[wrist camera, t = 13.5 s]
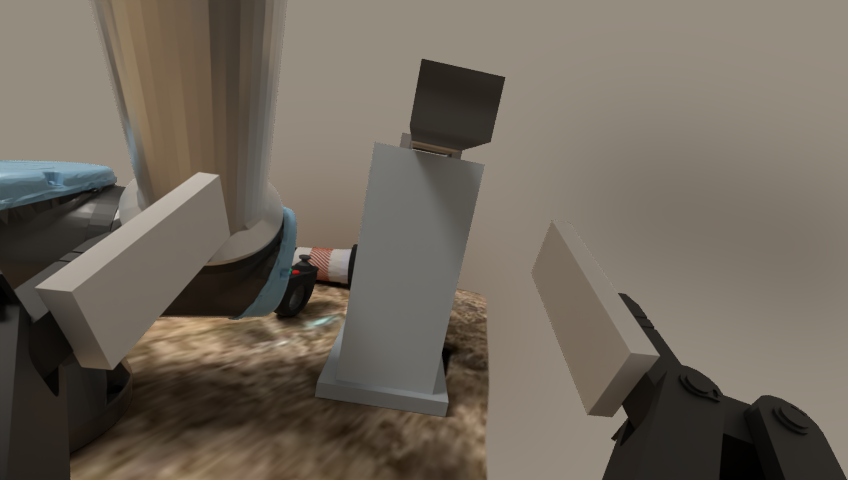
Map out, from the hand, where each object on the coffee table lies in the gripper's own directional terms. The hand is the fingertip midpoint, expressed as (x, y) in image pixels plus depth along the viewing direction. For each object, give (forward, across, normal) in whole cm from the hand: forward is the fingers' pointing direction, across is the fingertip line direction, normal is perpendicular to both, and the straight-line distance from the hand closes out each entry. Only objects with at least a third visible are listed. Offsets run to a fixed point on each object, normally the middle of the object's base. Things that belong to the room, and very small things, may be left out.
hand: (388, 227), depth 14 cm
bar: (+17, +3, -2) cm, 17 cm away
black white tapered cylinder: (+48, -16, -46) cm, 69 cm away
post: (+23, +1, -37) cm, 43 cm away
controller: (+31, -17, -39) cm, 53 cm away
